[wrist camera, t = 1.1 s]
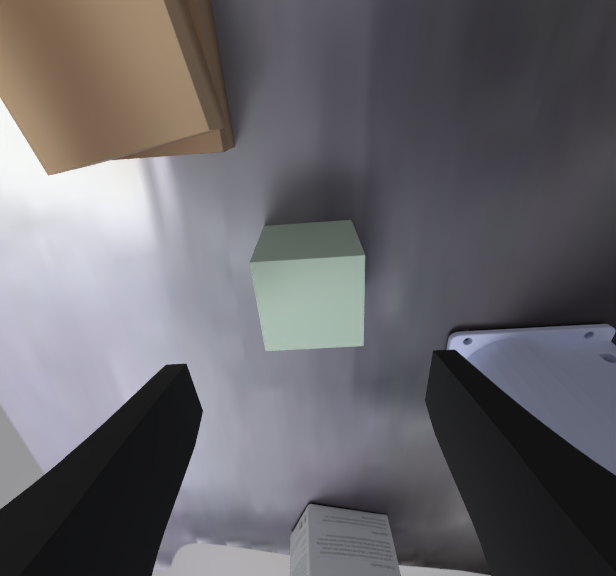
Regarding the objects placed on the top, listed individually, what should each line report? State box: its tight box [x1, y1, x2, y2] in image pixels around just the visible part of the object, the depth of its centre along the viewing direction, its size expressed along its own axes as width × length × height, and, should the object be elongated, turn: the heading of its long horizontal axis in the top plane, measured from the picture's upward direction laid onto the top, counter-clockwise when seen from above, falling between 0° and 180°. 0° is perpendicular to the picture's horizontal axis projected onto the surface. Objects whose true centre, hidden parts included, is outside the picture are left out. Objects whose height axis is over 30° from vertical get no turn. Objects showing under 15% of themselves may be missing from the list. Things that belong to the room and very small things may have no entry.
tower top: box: [0, 0, 227, 175], centre depth 10 cm, size 6×6×2 cm
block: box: [250, 220, 365, 351], centre depth 15 cm, size 4×4×4 cm
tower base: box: [112, 0, 235, 160], centre depth 12 cm, size 6×6×2 cm
